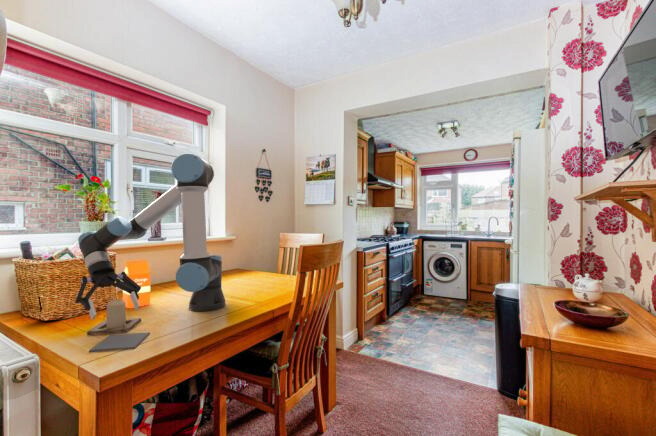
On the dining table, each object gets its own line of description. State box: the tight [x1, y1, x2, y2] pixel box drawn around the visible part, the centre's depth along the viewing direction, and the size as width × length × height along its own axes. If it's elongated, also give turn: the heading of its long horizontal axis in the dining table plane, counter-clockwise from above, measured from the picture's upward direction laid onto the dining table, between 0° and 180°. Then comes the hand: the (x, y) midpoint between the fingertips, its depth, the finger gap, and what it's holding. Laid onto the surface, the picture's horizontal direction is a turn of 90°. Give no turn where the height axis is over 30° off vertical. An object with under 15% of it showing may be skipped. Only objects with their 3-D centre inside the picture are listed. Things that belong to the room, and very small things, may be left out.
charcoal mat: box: [88, 331, 150, 353], centre depth 95 cm, size 12×12×1 cm
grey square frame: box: [86, 317, 142, 336], centre depth 108 cm, size 12×12×1 cm
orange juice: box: [122, 259, 151, 309], centre depth 138 cm, size 8×9×20 cm
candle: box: [105, 298, 126, 328], centre depth 108 cm, size 6×6×10 cm
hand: (117, 312), depth 107 cm, fingers open, 13 cm apart
